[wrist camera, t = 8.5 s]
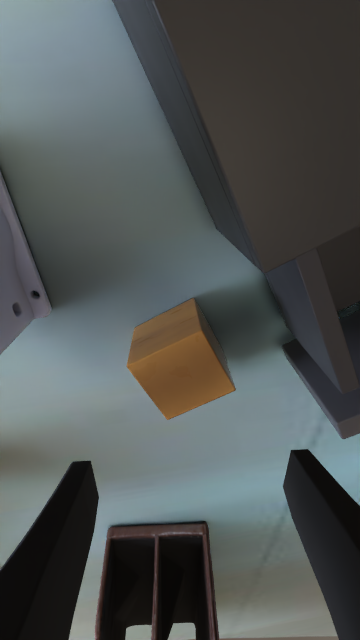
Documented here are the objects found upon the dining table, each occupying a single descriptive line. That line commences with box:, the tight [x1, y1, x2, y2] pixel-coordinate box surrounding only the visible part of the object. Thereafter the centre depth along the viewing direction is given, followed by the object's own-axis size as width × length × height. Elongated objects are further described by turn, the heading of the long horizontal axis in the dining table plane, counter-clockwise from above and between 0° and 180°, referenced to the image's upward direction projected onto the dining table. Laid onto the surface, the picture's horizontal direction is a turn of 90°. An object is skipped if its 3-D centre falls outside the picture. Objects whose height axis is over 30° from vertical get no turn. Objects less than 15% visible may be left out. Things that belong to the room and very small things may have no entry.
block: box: [127, 298, 236, 420], centre depth 17 cm, size 4×4×4 cm
